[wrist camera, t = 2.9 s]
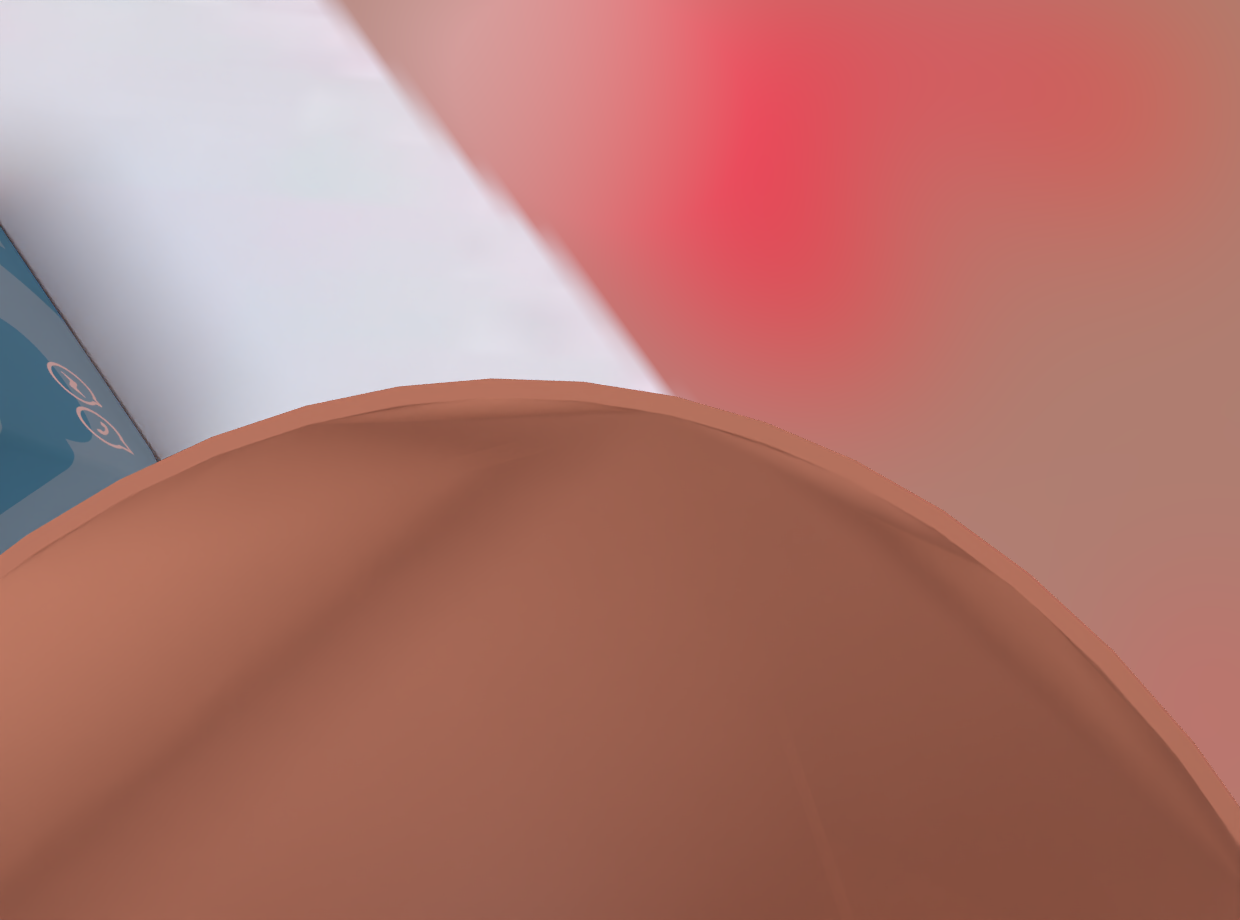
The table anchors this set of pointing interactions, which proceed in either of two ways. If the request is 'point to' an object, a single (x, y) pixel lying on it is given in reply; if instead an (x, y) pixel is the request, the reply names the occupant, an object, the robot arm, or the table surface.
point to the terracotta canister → (568, 687)
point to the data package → (52, 412)
